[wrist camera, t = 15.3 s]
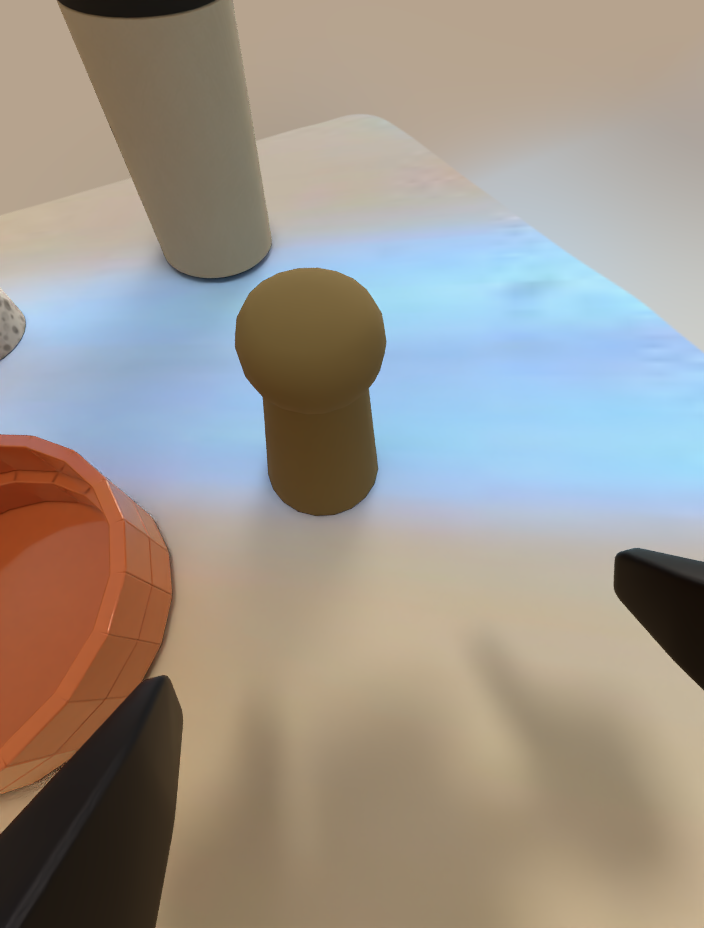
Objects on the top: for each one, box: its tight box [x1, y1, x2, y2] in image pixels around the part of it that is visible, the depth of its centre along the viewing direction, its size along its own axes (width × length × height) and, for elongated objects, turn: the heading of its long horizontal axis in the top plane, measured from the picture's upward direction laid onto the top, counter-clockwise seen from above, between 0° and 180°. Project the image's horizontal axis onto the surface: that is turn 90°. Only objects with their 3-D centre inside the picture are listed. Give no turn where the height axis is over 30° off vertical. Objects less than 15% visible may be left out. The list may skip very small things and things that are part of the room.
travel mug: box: [57, 0, 272, 278], centre depth 23 cm, size 8×8×18 cm
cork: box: [235, 268, 386, 516], centre depth 18 cm, size 6×6×11 cm
